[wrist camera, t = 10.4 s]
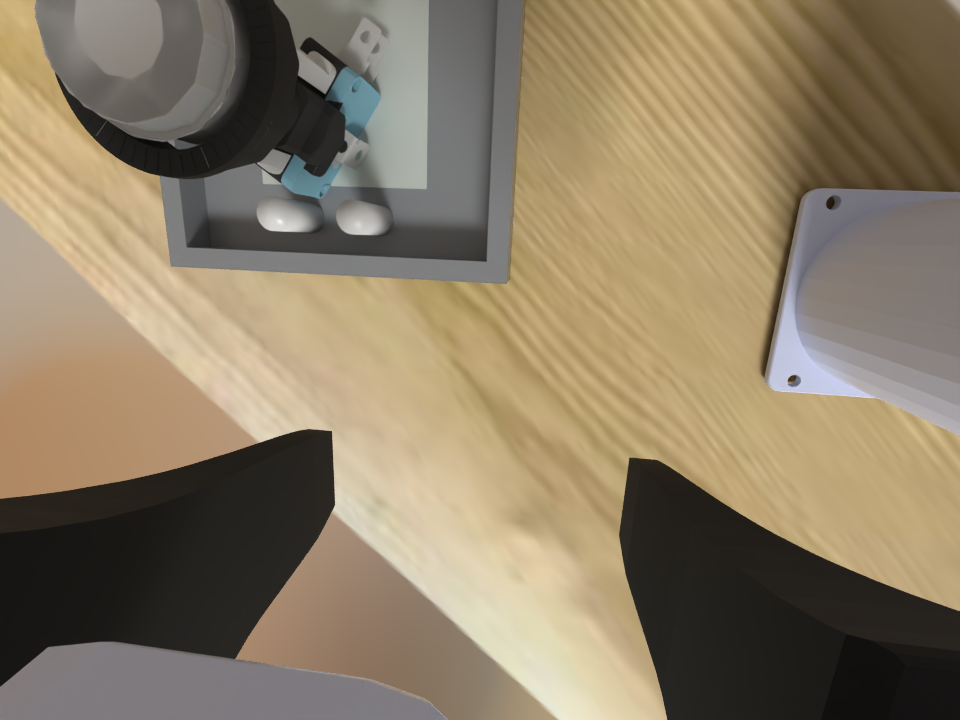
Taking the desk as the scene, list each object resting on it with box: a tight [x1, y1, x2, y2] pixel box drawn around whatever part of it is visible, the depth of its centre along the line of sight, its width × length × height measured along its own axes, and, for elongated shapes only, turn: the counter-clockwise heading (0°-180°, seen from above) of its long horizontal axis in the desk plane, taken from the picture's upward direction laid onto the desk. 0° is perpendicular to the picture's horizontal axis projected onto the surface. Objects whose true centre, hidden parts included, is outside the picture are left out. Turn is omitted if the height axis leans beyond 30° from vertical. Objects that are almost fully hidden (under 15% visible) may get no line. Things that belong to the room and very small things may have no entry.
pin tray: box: [160, 0, 525, 284], centre depth 17 cm, size 14×16×4 cm
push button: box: [34, 0, 390, 199], centre depth 14 cm, size 7×5×10 cm
